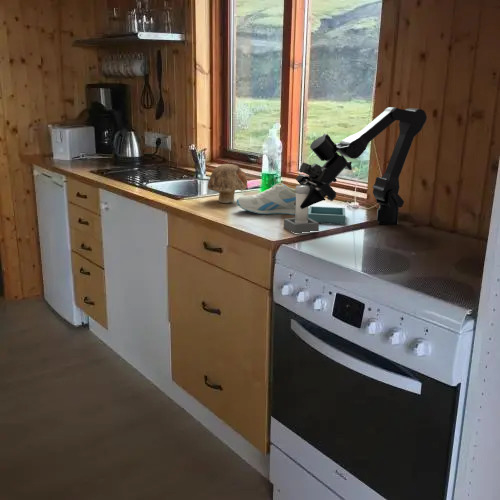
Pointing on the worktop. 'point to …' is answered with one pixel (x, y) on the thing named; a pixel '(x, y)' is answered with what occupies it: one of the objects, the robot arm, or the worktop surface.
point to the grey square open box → (301, 225)
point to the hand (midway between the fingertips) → (298, 206)
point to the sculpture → (227, 181)
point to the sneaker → (271, 201)
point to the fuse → (300, 214)
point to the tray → (327, 214)
